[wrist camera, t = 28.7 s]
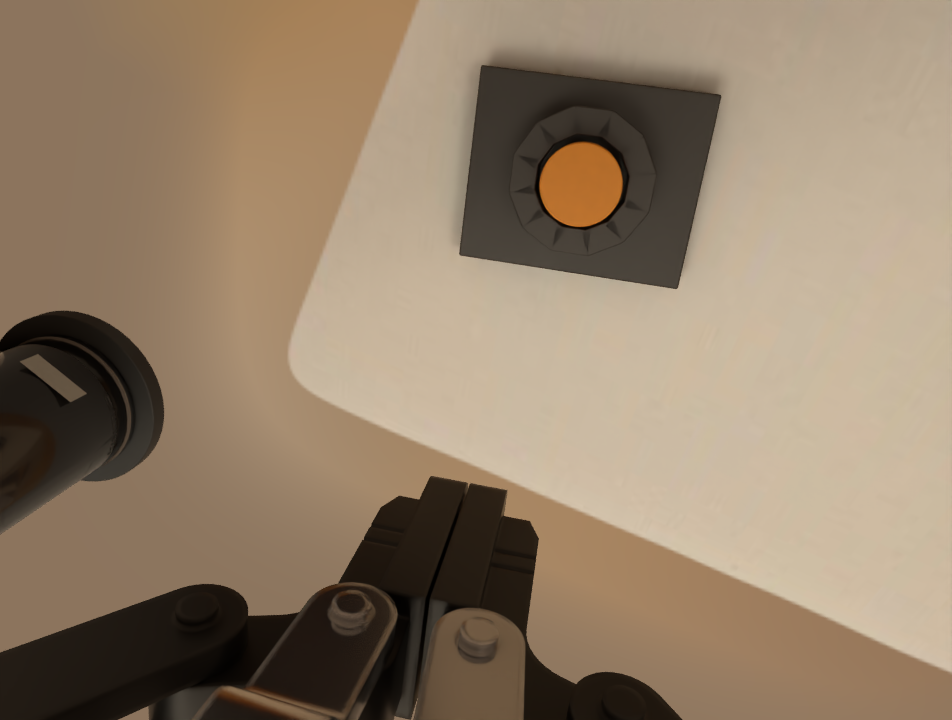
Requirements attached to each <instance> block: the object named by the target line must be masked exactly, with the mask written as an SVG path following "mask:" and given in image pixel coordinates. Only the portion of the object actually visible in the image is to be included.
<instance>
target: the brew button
mask: <svg viewBox="0 0 952 720" xmlns="http://www.w3.org/2000/svg"><path fill="white" fill-rule="evenodd" d="M539 187H540V195H541V199H542V202H543V204H544V206H545V208H546V209H547V211H548V212H549V213H550V214H551V215H552V216H553V217H554V218H555V219H556V220H558V221H559V222H561V223H563V224H566V225H569V226H574V227H585V226H590V225H594V224H596V223H598V222H600V221H602V220H603V219H605V218H606V217H607V216H609V215H610V213H611V212H612V211H613V210H614V209H615V207H616V206H617V204H618V202H619V200H620V197H621V193H622V188H623V178H622V173H621V169H620V167H619V165H618V163H617V161H616V159H615V158H614V156H613V155H612V154H611V153H610V152H609V151H608V150H607V149H605V148H604V147H602V146H600V145H598V144H596V143H592V142H585V141H582V142H574V143H571V144H568V145H566V146H564V147H562V148H561V149H559V150H558V151H556V152H555V153H554V154H553V155H552V156H551V157H550V158H549V159H548V161H547V162H546V164H545V166H544V168H543V170H542V173H541V177H540V184H539Z"/></svg>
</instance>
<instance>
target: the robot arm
mask: <svg viewBox="0 0 952 720" xmlns="http://www.w3.org/2000/svg"><path fill="white" fill-rule="evenodd" d="M134 428H135V407H134V402H133V398H132V395H131V392H130V390H129V387H128V385H127V383H126V381H125V379H124V378H123V376H122V375H121V373H120V372H119V370H118V369H117V368H116V367H115V365H114V364H113V363H112V362H111V361H110V360H109V359H108V358H107V357H106V356H105V355H104V354H103V353H101V352H100V351H99V350H97V349H96V348H94V347H93V346H91V345H89V344H87V343H86V342H84V341H81V340H79V339H76V338H73V337H70V336H65V335H55V334H51V335H43V336H39V337H36V338H33V339H30V340H28V341H25V342H23V343H21V344H19V345H18V346H16V347H14V348H8V347H7V348H3V349H1V350H0V535H1V534H2V533H3V532H5V531H6V530H8V529H9V528H11V527H12V526H14V525H15V524H17V523H18V522H20V521H21V520H22V519H24V518H25V517H27V516H28V515H30V514H31V513H33V512H34V511H36V510H37V509H39V508H40V507H42V506H43V505H45V504H46V503H47V502H49V501H50V500H52V499H53V498H55V497H56V496H58V495H59V494H61V493H62V492H64V491H65V490H67V489H68V488H69V487H71V486H72V485H74V484H75V483H77V482H78V481H80V480H81V479H83V478H84V477H86V476H87V475H89V474H90V473H92V472H93V471H94V470H96V469H97V468H99V467H101V466H103V465H105V464H107V463H109V462H110V461H112V460H113V459H114V458H116V457H117V456H119V455H120V454H121V453H122V452H123V451H124V450H125V448H126V447H127V446H128V444H129V442H130V440H131V438H132V435H133V432H134ZM506 498H507V490H503V489H498V488H492V487H487V486H482V485H477V484H472V483H471V484H470V486H469V488H468V483H466V482H460V481H455V480H451V479H444V478H440V477H434V476H431V477H430V478H429V480H428V482H427V484H426V487H425V489H424V491H423V493H422V495H421V497H420V499H419V500H418V499H413V498H408V497H403V496H398V497H396V498H395V499H393V500H392V501H390V502H389V503H387V504H386V505H384V506H382V507H381V508H380V510H379V512H378V513H377V515H376V517H375V519H374V520H373V522H372V525H371V527H370V528H369V529H368V531H367V533H366V535H365V537H364V540H362V542H361V544H360V546H359V547H358V549H357V551H356V552H355V554H354V556H353V558H352V560H351V561H350V563H349V565H348V567H347V569H346V570H345V572H344V574H343V576H342V577H341V579H340V581H339V583H338V584H335V585H331V586H328V587H326V588H323V589H322V590H320V591H318V592H317V593H315V594H314V595H313V596H312V597H311V598H310V599H309V600H308V601H307V603H306V604H305V606H304V607H303V608H302V610H301V611H300V612H298V613H294V614H288V615H267V616H248V606H247V603H246V601H245V600H244V598H243V597H242V596H241V595H240V594H239V593H238V592H236V591H235V590H233V589H230V588H228V587H225V586H221V585H214V584H200V585H192V586H187V587H183V588H180V589H177V590H174V591H172V592H169V593H166V594H163V595H160V596H157V597H155V598H152V599H149V600H146V601H143V602H141V603H138V604H135V605H132V606H129V607H127V608H124V609H121V610H118V611H115V612H113V613H110V614H107V615H105V616H102V617H99V618H96V619H93V620H90V621H87V622H85V623H82V624H79V625H76V626H74V627H71V628H68V629H65V630H62V631H59V632H57V633H54V634H51V635H48V636H45V637H43V638H40V639H37V640H34V641H31V642H29V643H26V644H23V645H20V646H18V647H15V648H12V649H9V650H6V651H3V652H1V653H0V720H118V719H120V718H123V717H125V716H127V715H129V714H131V713H134V712H136V711H138V710H140V709H142V708H144V707H147V706H149V720H393V719H394V716H397V717H402V718H405V719H411V717H412V714H413V711H414V708H415V704H416V701H417V705H416V710H415V715H414V719H413V720H682V719H681V718H680V717H679V715H678V714H677V713H676V712H675V711H674V710H673V709H672V708H671V707H670V706H669V705H668V704H667V703H666V702H665V701H664V700H663V699H662V697H661V696H660V695H659V694H657V693H656V692H655V691H654V690H653V689H652V688H650V687H649V686H648V685H646V684H645V683H643V682H641V681H639V680H637V679H635V678H633V677H630V676H627V675H624V674H619V673H613V672H600V673H595V674H591V675H588V676H586V677H584V678H583V679H581V680H580V681H579V682H578V683H577V684H574V683H572V682H570V681H568V680H566V679H564V678H562V677H560V676H559V675H557V674H555V673H553V672H552V671H551V670H549V669H548V668H546V667H545V666H544V665H543V664H542V663H541V662H540V661H539V660H538V659H537V658H536V657H535V655H534V654H533V652H532V651H531V649H530V647H529V644H528V642H527V636H526V629H527V621H528V614H529V607H530V600H531V592H532V585H533V577H534V570H535V562H536V555H537V548H538V540H539V538H538V536H537V534H536V533H535V531H534V529H533V527H532V525H531V523H530V521H526V520H521V519H516V518H511V517H506V516H504V511H505V504H506ZM417 698H418V700H417Z"/></svg>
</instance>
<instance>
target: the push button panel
mask: <svg viewBox="0 0 952 720" xmlns="http://www.w3.org/2000/svg"><path fill="white" fill-rule="evenodd" d="M720 100H721V95H719V94H711V93H702V92H694V91H686V90H678V89H670V88H662V87H654V86H646V85H638V84H630V83H622V82H614V81H606V80H598V79H590V78H582V77H573V76H565V75H557V74H549V73H541V72H533V71H525V70H517V69H509V68H501V67H493V66H485V65H482V66H481V72H480V81H479V89H478V98H477V106H476V115H475V123H474V132H473V141H472V149H471V158H470V166H469V175H468V183H467V192H466V201H465V209H464V218H463V226H462V235H461V243H460V252H459V254H460V255H461V256H468V257H474V258H481V259H487V260H493V261H500V262H506V263H513V264H519V265H525V266H532V267H538V268H545V269H551V270H558V271H564V272H570V273H577V274H583V275H590V276H596V277H603V278H609V279H615V280H622V281H628V282H635V283H641V284H647V285H654V286H660V287H667V288H673V289H677V288H678V285H679V281H680V276H681V272H682V268H683V263H684V259H685V254H686V250H687V246H688V241H689V237H690V232H691V228H692V224H693V219H694V215H695V210H696V206H697V201H698V197H699V193H700V188H701V184H702V179H703V175H704V171H705V166H706V162H707V157H708V153H709V149H710V144H711V140H712V135H713V131H714V127H715V122H716V118H717V113H718V109H719V104H720ZM582 141H585V142H592V143H596V144H598V145H600V146H602V147H604V148H605V149H607V150H608V151H609V152H610V153H611V154H612V155H613V156H614V158H615V159H616V161H617V163H618V165H619V167H620V169H621V173H622V178H623V188H622V193H621V197H620V200H619V202H618V204H617V206H616V207H615V209H614V210H613V211H612V212H611V213H610V215H609V216H607V217H606V218H605V219H603V220H602V221H600V222H598V223H596V224H594V225H590V226H585V227H574V226H569V225H566V224H563V223H561V222H559V221H558V220H556V219H555V218H554V217H553V216H552V215H551V214H550V213H549V212H548V211H547V209H546V208H545V206H544V204H543V202H542V199H541V195H540V187H539V184H540V177H541V173H542V170H543V168H544V166H545V164H546V162H547V161H548V159H549V158H550V157H551V156H552V155H553V154H554V153H555V152H556V151H558V150H559V149H561V148H562V147H564V146H566V145H568V144H571V143H574V142H582Z"/></svg>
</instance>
